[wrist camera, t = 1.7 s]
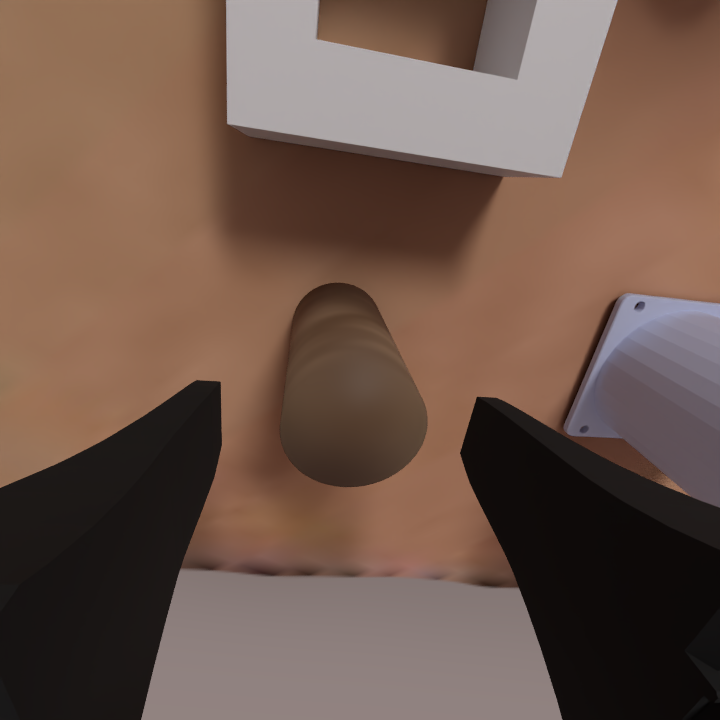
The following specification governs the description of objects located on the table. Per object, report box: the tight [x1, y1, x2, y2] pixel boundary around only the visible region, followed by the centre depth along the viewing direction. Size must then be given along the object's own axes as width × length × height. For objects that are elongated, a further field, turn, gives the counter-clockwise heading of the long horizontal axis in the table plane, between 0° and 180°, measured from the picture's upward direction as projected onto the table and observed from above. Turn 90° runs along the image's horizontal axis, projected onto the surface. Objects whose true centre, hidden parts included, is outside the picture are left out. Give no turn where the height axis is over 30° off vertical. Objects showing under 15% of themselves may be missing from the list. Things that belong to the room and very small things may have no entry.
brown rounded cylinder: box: [280, 283, 427, 487], centre depth 14 cm, size 4×4×8 cm
